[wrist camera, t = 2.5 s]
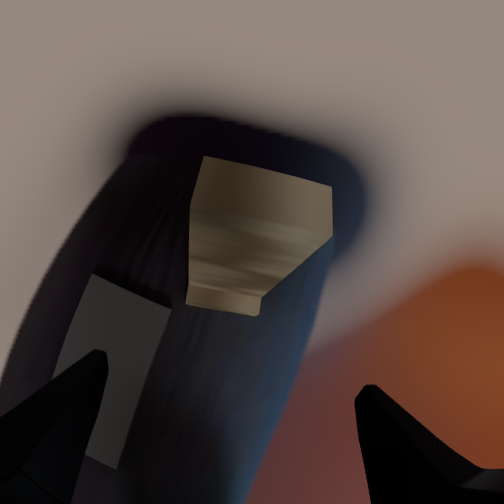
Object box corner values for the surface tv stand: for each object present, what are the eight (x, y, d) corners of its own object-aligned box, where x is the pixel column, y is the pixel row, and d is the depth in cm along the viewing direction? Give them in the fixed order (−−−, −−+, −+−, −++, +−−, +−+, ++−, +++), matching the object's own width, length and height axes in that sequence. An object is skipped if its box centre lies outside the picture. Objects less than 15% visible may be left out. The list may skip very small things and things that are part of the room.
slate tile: (172, 312, 21) (171, 309, 20) (119, 464, 15) (116, 469, 14) (96, 277, 20) (92, 273, 19) (46, 424, 15) (40, 426, 14)
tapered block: (262, 258, 24) (330, 164, 12) (255, 316, 22) (332, 266, 10) (197, 245, 23) (210, 134, 12) (185, 304, 21) (182, 236, 10)
